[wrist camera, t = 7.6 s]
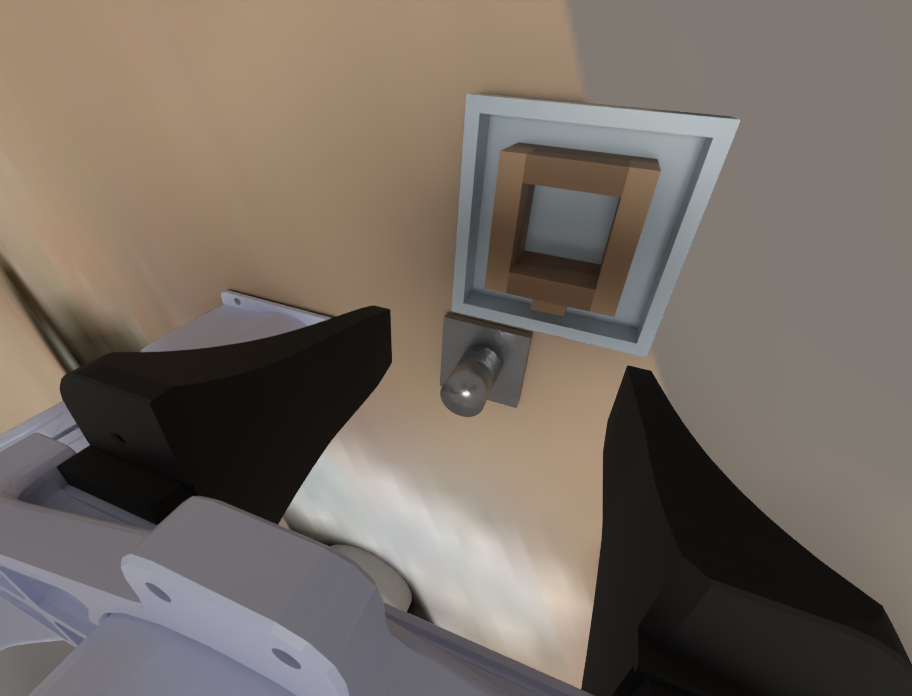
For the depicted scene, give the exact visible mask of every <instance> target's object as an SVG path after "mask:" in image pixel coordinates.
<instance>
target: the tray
mask: <svg viewBox="0 0 912 696" xmlns="http://www.w3.org/2000/svg"><path fill="white" fill-rule="evenodd" d="M739 123H740V119H737V118H734V117H730V116H720V115H709V114H699V113H688V112H677V111H666V110H656V109H644V108H633V107H623V106H611V105H601V104H591V103H580V102H569V101H558V100H547V99H536V98H526V97H515V96H504V95H493V94H482V93H480V94H466V106H465V121H464V135H463V150H462V164H461V179H460V193H459V208H458V222H457V236H456V251H455V265H454V280H453V294H452V309H451V311H453V312H457V313H461V314H466V315H470V316H474V317H478V318H482V319H486V320H491V321H495V322H499V323H503V324H507V325H511V326H516V327H520V328H524V329H528V330H532V331H536V332H541V333H545V334H549V335H553V336H557V337H561V338H566V339H570V340H574V341H578V342H582V343H587V344H591V345H595V346H599V347H603V348H607V349H612V350H616V351H620V352H624V353H628V354H632V355H637V356H641V357H645V358H647V355H648V353H649V350H650V348H651V345H652V343H653V340H654V338H655V335H656V332H657V330H658V328H659V325H660V322H661V320H662V317H663V315H664V312H665V310H666V307H667V305H668V302H669V300H670V297H671V295H672V292H673V290H674V287H675V285H676V282H677V280H678V277H679V275H680V272H681V269H682V267H683V264H684V262H685V259H686V257H687V254H688V252H689V249H690V247H691V244H692V242H693V239H694V236H695V234H696V232H697V229H698V226H699V224H700V221H701V219H702V216H703V214H704V211H705V209H706V206H707V204H708V201H709V199H710V196H711V194H712V191H713V189H714V186H715V184H716V181H717V178H718V176H719V173H720V171H721V169H722V166H723V163H724V161H725V158H726V156H727V153H728V151H729V148H730V146H731V143H732V141H733V138H734V136H735V133H736V130H737V128H738V126H739ZM518 142H520V143H528V144H537V145H545V146H553V147H562V148H570V149H579V150H587V151H595V152H604V153H612V154H620V155H629V156H637V157H645V158H654V159H658V162H659V166H660V169H661V173H660V176H659V179H658V182H657V185H656V188H655V192H654V195H653V198H652V201H651V204H650V207H649V210H648V213H647V217H646V220H645V223H644V226H643V229H642V232H641V235H640V238H639V242H638V245H637V248H636V251H635V254H634V257H633V260H632V264H631V267H630V270H629V273H628V276H627V279H626V282H625V285H624V289H623V292H622V295H621V298H620V301H619V304H618V307H617V310H616V314H615V317H612V316H607V315H603V314H598V313H593V312H589V311H584V310H580V309H575V308H570V307H567V309H566V312H565V315H564V316H559V315H555V314H550V313H546V312H541V311H537V310H532V309H530V308H531V303H532V299H529V298H525V297H520V296H516V295H511V294H506V293H502V292H497V291H493V290H488V289H484V287H485V278H486V269H487V260H488V252H489V243H490V234H491V225H492V216H493V208H494V199H495V190H496V181H497V172H498V164H499V155H500V151H501V150H503V149H505V148H507V147H509V146H512V145H514V144H516V143H518ZM618 201H619V197H615V196H608V195H601V194H594V193H587V192H580V191H573V190H566V189H560V188H553V187H546V186H539V185H535V189H534V195H533V201H532V207H531V213H530V219H529V225H528V231H527V238H526V244H525V250H526V251H531V252H537V253H542V254H547V255H553V256H558V257H563V258H569V259H574V260H579V261H585V262H590V263H595V264H601V262H602V259H603V255H604V251H605V248H606V244H607V240H608V237H609V233H610V230H611V226H612V222H613V219H614V215H615V212H616V208H617V204H618Z"/></svg>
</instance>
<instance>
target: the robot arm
mask: <svg viewBox="0 0 912 696" xmlns="http://www.w3.org/2000/svg"><path fill="white" fill-rule="evenodd" d="M221 299H222V302H223V305H221V306H219V307H217V308H216V309H214V310H212V311H210V312H208V313H206V314H204V315H202V316H200V317H198V318H196V319H194V320H193V321H191V322H189V323H187V324H185V325H183V326H181V327H179V328H177V329H175V330H173V331H171V332H170V333H168V334H166V335H164V336H162V337H160V338H158V339H156V340H154V341H153V342H151V343H150V344H148V345H147V346H146V347H145V348H143V349H142V350H141V351H140V352H112V353H109V354H106V355H104V356H101V357H99V358H97V359H95V360H93V361H91V362H89V363H87V364H85V365H83V366H81V367H79V368H77V369H75V370H73V371H71V372H69V373H67V374H66V375H65V376H64V377H63V378H62V379H61V383H60V392H61V396H62V399H63V401H62V402H60V403H58V404H57V405H55V406H53V407H51V408H49V409H47V410H46V411H44V412H42V413H40V414H38V415H36V416H35V417H33V418H31V419H29V420H27V421H25V422H24V423H22V424H20V425H18V426H16V427H14V428H13V429H11V430H9V431H7V432H5V433H3V434H2V435H0V651H2V650H3V649H5V648H7V647H11V646H14V645H21V644H28V643H37V642H46V641H57V640H65V641H66V642H68V643H69V644H71V645H72V646H74V647H75V650H74V651H72V653H71V654H69V656H67V658H66V659H64V661H62V662H61V663H60V664H59V665H58V666H57V667H56V669H54V670H53V672H52V673H50V675H49V676H48V677H46V679H44V680H43V682H42V683H41V684H40V685H38V686H37V688H36V689H34V691H33V692H32V693H30V694H29V695H28V696H912V664H911V662H910V660H909V658H908V656H907V653H906V651H905V650H904V647H903V645H902V643H901V641H900V639H899V637H898V635H897V633H896V631H895V629H894V627H893V625H892V623H891V621H890V619H889V617H888V615H887V614H886V612H885V610H884V608H883V606H882V605H880V604H879V603H878V602H876V601H875V600H873V599H872V598H871V597H869V596H868V595H867V594H865V593H864V592H863V591H861V590H860V589H858V588H857V587H856V586H854V585H853V584H852V583H850V582H849V581H848V580H846V579H845V578H843V577H842V576H841V575H839V574H838V573H837V572H835V571H834V570H832V569H831V568H830V567H828V566H827V565H825V564H824V563H823V562H822V561H820V560H819V559H818V558H817V557H815V556H814V555H813V554H812V553H810V552H809V551H808V550H807V549H805V548H804V547H803V546H802V545H801V544H799V543H798V542H797V541H796V540H794V539H793V538H792V537H791V536H789V535H788V534H787V533H786V532H785V531H784V530H782V529H781V528H780V527H779V526H778V525H777V524H776V523H774V522H773V521H772V520H771V519H770V518H769V517H768V516H766V515H765V514H764V513H763V512H762V511H761V510H760V509H759V508H758V507H757V506H756V505H755V504H754V503H753V502H752V501H751V500H749V499H748V498H747V497H746V496H745V495H744V494H743V493H742V492H741V491H740V490H739V489H738V488H737V487H736V486H735V485H734V484H733V483H732V482H731V481H730V480H729V478H728V477H727V476H726V475H725V474H724V473H723V472H722V471H721V470H720V469H719V468H718V466H717V465H716V464H715V463H714V462H713V461H712V460H711V459H710V457H709V456H708V455H707V454H706V452H705V451H704V450H703V449H702V448H701V446H700V445H699V444H698V442H697V441H696V440H695V438H694V437H693V436H692V434H691V433H690V432H689V430H688V429H687V427H686V426H685V425H684V423H683V422H682V420H681V419H680V417H679V416H678V414H677V413H676V411H675V410H674V409H673V407H672V405H671V403H670V402H669V400H668V398H667V397H666V395H665V393H664V392H663V390H662V388H661V386H660V385H659V383H658V381H657V380H656V378H655V376H654V375H653V373H652V371H649V370H645V369H641V368H636V367H632V366H628V365H627V368H626V371H625V374H624V376H623V379H622V382H621V385H620V388H619V390H618V393H617V396H616V399H615V402H614V405H613V407H612V410H611V413H610V416H609V419H608V422H607V429H606V435H605V442H604V450H603V525H602V541H601V549H600V558H599V566H598V575H597V583H596V590H595V598H594V606H593V613H592V620H591V627H590V634H589V641H588V649H587V656H586V662H585V668H584V675H583V681H582V688H581V689H578V688H576V687H574V686H572V685H569V684H567V683H565V682H563V681H560V680H558V679H556V678H554V677H551V676H549V675H547V674H545V673H542V672H540V671H538V670H536V669H533V668H531V667H529V666H527V665H524V664H522V663H520V662H517V661H515V660H513V659H511V658H508V657H506V656H504V655H502V654H499V653H497V652H495V651H493V650H490V649H488V648H486V647H484V646H481V645H479V644H477V643H475V642H472V641H470V640H468V639H466V638H463V637H461V636H459V635H457V634H454V633H452V632H450V631H447V630H445V629H443V628H441V627H438V626H436V625H434V624H432V623H429V622H427V621H425V620H423V619H420V618H418V617H416V616H414V615H411V614H409V613H407V612H405V611H402V610H400V609H398V608H396V607H393V606H391V605H389V604H387V603H384V602H383V599H382V596H381V594H380V592H379V589H378V587H377V585H376V583H375V581H374V579H373V578H372V577H371V576H369V575H368V574H367V573H366V572H365V571H364V570H363V569H362V568H361V567H360V566H359V565H358V564H357V563H356V562H355V561H354V560H352V559H350V558H348V557H347V556H345V555H343V554H342V553H340V552H338V551H336V550H335V549H333V548H331V547H329V546H327V545H325V544H322V543H320V542H318V541H315V540H313V539H311V538H308V537H306V536H303V535H301V534H299V533H296V532H294V531H291V530H289V529H287V528H284V527H282V526H280V525H278V524H279V522H280V520H281V518H282V517H283V515H284V513H285V512H286V510H287V508H288V507H289V505H290V503H291V501H292V500H293V498H294V496H295V495H296V493H297V491H298V490H299V488H300V487H301V485H302V484H303V482H304V480H305V479H306V477H307V476H308V474H309V473H310V471H311V469H312V468H313V466H314V465H315V463H316V462H317V460H318V459H319V458H320V456H321V455H322V453H323V452H324V450H325V449H326V447H327V446H328V444H329V443H330V442H331V440H332V439H333V438H334V437H335V435H336V434H337V433H338V432H339V431H340V429H341V428H342V427H343V426H344V425H345V424H346V422H347V421H348V420H349V419H350V418H351V417H352V415H353V414H354V413H355V412H356V411H357V410H358V408H359V407H360V406H361V405H362V404H363V403H364V401H365V400H366V399H367V398H368V397H369V395H370V394H371V393H372V392H373V391H374V389H375V388H376V387H377V386H378V384H379V383H380V381H381V380H382V378H383V376H384V375H385V373H386V372H387V370H388V368H389V366H390V365H391V363H392V349H391V318H390V309H386V308H382V307H378V306H369V307H365V308H361V309H358V310H355V311H352V312H349V313H346V314H343V315H340V316H337V317H334V318H331V317H327V316H323V315H319V314H316V313H312V312H308V311H304V310H301V309H297V308H293V307H289V306H286V305H282V304H278V303H274V302H270V301H267V300H263V299H259V298H255V297H252V296H248V295H244V294H240V293H237V292H233V291H229V290H226V291H224V292H222V293H221Z"/></svg>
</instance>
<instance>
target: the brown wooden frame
mask: <svg viewBox="0 0 912 696" xmlns="http://www.w3.org/2000/svg"><path fill="white" fill-rule="evenodd" d="M660 173H661V169H660V166H659V162H658V159H654V158H645V157H637V156H629V155H620V154H612V153H604V152H595V151H587V150H579V149H570V148H562V147H553V146H545V145H537V144H528V143H520V142H518V143H516V144H514V145H512V146H509V147H507V148H505V149H503V150H501V151H500V155H499V164H498V172H497V181H496V190H495V199H494V208H493V216H492V225H491V234H490V243H489V252H488V260H487V269H486V278H485V287H484V289H488V290H493V291H497V292H502V293H506V294H511V295H516V296H520V297H525V298H529V299H532V303H531V308H530V309H532V310H537V311H541V312H546V313H550V314H555V315H559V316H564V315H565V312H566V309H567V307H570V308H575V309H580V310H584V311H589V312H593V313H598V314H603V315H607V316H612V317H615V314H616V310H617V307H618V304H619V301H620V298H621V295H622V292H623V289H624V285H625V282H626V279H627V276H628V273H629V270H630V267H631V264H632V260H633V257H634V254H635V251H636V248H637V245H638V242H639V238H640V235H641V232H642V229H643V226H644V223H645V220H646V217H647V213H648V210H649V207H650V204H651V201H652V198H653V195H654V192H655V188H656V185H657V182H658V179H659V176H660ZM535 185H539V186H546V187H553V188H560V189H566V190H573V191H580V192H587V193H594V194H601V195H608V196H615V197H619V201H618V204H617V208H616V212H615V215H614V219H613V222H612V226H611V230H610V233H609V237H608V240H607V244H606V248H605V251H604V255H603V259H602V262H601V264H595V263H590V262H585V261H579V260H574V259H569V258H563V257H558V256H553V255H547V254H542V253H537V252H531V251H526V250H525V244H526V238H527V231H528V225H529V219H530V213H531V207H532V201H533V195H534V189H535Z"/></svg>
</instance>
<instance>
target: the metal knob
mask: <svg viewBox="0 0 912 696" xmlns="http://www.w3.org/2000/svg"><path fill="white" fill-rule="evenodd" d="M531 338H532V333H531V332H526V331H522V330H518V329H514V328H510V327H506V326H502V325H497V324H493V323H489V322H485V321H481V320H477V319H473V318H468V317H464V316H460V315H456V314H452V313H447V314H446V315H445V317H444V326H443V343H442V360H441V377H440V386H442V388H441V392H440V394H441V399H442V401H443V403H444V405H445V406H446V407H447V408H448V409H449V410H450V411H452V412H453V413H455V414H457V415H460V416H464V417H472V416H475V415H477V414H479V413H480V412H481V411H482V409H483V407H484V405H485V403H486V401H487V400H491V401H494V402H498V403H501V404H505V405H508V406H511V407H515V408H517V405H518V403H519V398H520V393H521V388H522V383H523V378H524V373H525V368H526V363H527V358H528V353H529V348H530V343H531Z"/></svg>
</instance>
